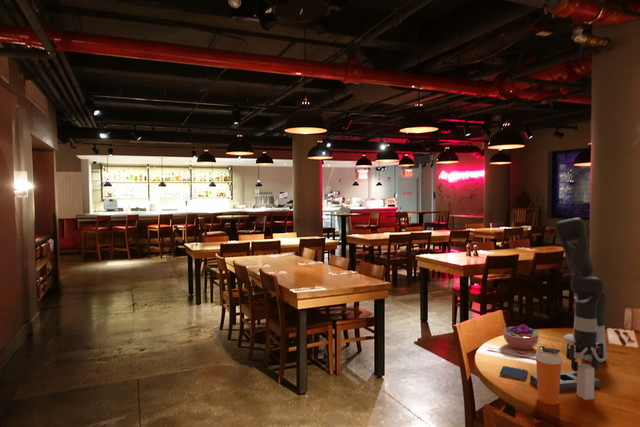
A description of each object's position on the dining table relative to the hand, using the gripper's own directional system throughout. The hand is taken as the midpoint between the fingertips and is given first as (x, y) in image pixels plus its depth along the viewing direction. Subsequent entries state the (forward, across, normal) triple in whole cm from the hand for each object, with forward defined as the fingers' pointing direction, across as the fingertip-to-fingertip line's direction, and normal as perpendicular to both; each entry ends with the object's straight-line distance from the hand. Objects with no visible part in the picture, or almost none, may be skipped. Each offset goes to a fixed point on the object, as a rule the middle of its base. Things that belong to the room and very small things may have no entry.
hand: (584, 370), depth 166 cm
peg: (+10, 0, 0) cm, 11 cm away
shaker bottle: (+11, +16, 0) cm, 19 cm away
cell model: (+10, -10, -54) cm, 56 cm away
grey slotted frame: (+10, 0, -11) cm, 15 cm away
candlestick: (+10, -47, -59) cm, 76 cm away
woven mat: (+11, +14, -24) cm, 30 cm away
